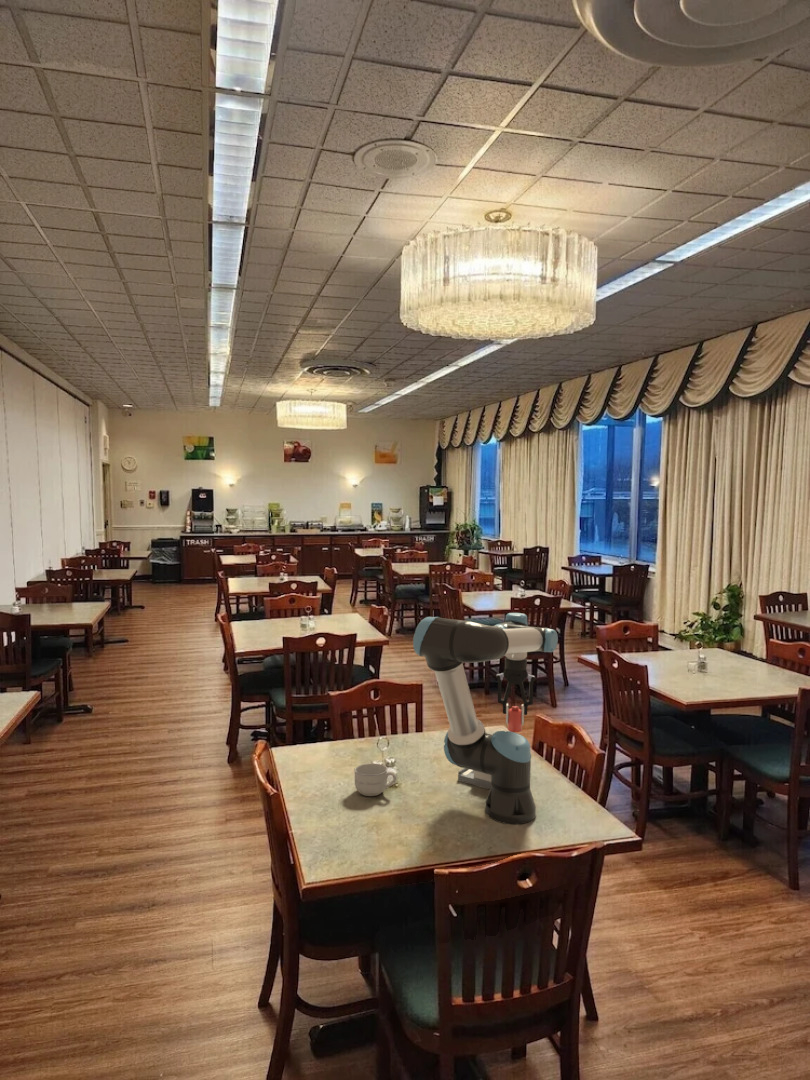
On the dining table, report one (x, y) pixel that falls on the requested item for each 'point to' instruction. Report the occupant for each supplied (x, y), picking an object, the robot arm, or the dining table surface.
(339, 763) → the dining table surface
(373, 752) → the dining table surface
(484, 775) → the cream square open box
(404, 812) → the dining table surface
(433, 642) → the robot arm
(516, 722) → the red cylinder with knob
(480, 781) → the panel
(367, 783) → the teacup
